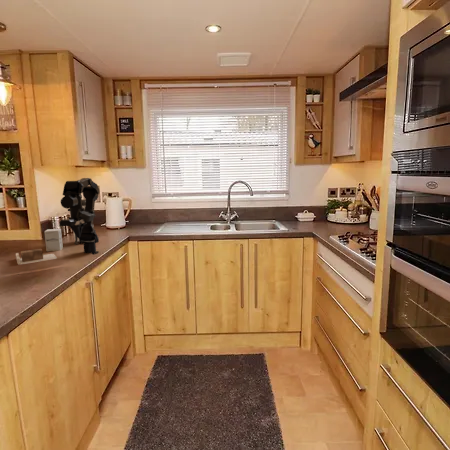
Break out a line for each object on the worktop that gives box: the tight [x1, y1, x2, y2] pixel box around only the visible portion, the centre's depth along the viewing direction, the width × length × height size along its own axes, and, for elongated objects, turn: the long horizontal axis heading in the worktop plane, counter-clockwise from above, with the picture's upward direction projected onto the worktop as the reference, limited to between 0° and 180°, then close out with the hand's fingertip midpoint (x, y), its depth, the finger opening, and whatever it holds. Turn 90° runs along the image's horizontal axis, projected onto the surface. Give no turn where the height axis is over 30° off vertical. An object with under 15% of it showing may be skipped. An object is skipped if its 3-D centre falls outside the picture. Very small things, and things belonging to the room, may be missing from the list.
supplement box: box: [44, 228, 64, 252], centre depth 183 cm, size 7×7×13 cm
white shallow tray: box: [15, 252, 58, 265], centre depth 164 cm, size 17×13×4 cm
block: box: [20, 248, 44, 262], centre depth 162 cm, size 4×4×9 cm
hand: (78, 237), depth 160 cm, fingers closed
